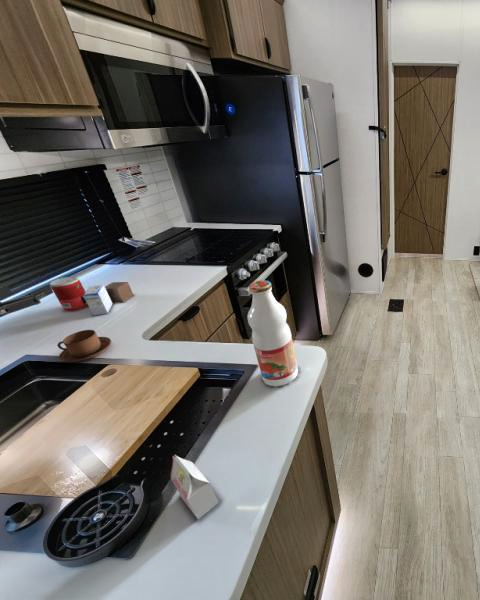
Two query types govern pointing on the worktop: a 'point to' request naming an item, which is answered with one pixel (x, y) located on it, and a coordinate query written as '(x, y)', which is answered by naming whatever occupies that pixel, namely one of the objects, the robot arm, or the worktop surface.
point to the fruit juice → (271, 336)
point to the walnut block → (119, 291)
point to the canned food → (69, 293)
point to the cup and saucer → (83, 346)
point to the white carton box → (193, 487)
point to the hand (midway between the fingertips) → (30, 289)
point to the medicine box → (98, 300)
